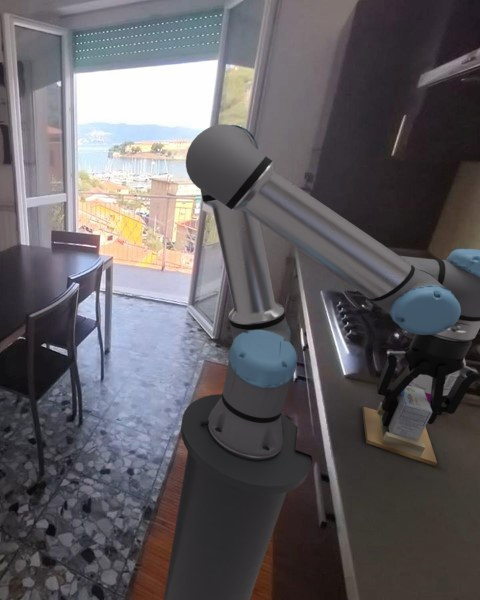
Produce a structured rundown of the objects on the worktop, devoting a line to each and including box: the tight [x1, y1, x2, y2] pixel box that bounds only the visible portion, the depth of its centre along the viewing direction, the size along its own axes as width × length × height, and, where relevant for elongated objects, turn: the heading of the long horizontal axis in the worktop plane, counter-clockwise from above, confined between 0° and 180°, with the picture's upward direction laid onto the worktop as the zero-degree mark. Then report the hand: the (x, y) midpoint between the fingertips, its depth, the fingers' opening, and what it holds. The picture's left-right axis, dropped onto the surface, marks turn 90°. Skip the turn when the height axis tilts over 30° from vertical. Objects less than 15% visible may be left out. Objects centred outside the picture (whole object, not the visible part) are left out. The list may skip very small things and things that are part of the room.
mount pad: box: [361, 402, 438, 467], centre depth 76 cm, size 11×12×4 cm
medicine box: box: [388, 386, 432, 442], centre depth 74 cm, size 8×4×9 cm, turn 148°
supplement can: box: [408, 357, 467, 404], centre depth 83 cm, size 8×8×15 cm
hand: (399, 427), depth 76 cm, fingers closed on medicine box, 4 cm apart
